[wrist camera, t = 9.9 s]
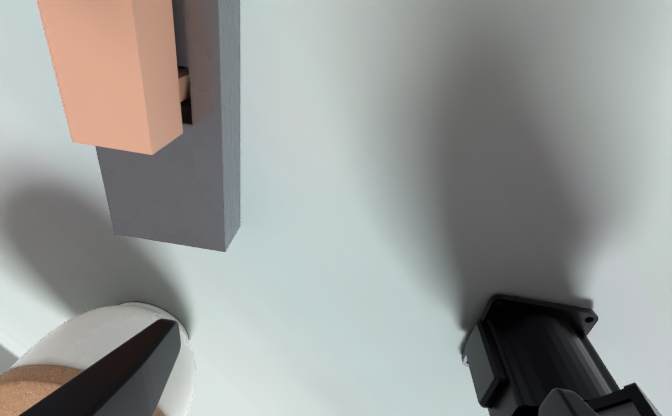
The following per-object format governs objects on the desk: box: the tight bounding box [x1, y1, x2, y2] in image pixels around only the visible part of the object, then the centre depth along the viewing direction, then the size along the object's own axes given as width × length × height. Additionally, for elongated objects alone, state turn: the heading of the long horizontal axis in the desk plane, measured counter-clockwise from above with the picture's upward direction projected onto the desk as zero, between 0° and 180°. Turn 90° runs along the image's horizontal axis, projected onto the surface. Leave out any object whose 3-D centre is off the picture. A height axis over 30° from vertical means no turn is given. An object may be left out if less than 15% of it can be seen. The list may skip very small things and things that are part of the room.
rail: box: [96, 0, 240, 252], centre depth 15 cm, size 6×22×2 cm, turn 173°
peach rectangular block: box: [37, 0, 191, 155], centre depth 13 cm, size 3×9×6 cm, turn 173°
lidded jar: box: [0, 302, 196, 416], centre depth 23 cm, size 11×11×9 cm
